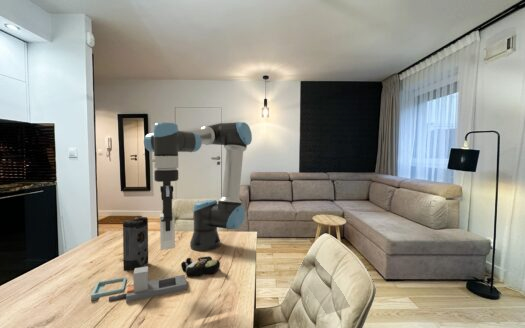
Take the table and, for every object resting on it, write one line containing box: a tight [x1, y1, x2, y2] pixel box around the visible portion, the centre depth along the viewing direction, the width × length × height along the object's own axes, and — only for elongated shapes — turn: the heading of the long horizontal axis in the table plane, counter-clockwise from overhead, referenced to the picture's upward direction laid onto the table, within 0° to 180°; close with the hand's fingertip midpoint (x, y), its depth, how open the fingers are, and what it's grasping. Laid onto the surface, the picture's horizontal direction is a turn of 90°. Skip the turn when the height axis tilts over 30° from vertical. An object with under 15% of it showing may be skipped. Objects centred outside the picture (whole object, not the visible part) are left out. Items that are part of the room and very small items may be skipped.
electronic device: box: [122, 216, 149, 272], centre depth 100 cm, size 9×6×20 cm, turn 168°
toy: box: [180, 255, 221, 278], centre depth 95 cm, size 12×8×15 cm
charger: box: [159, 212, 176, 251], centre depth 82 cm, size 4×4×11 cm
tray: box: [90, 276, 127, 302], centre depth 82 cm, size 9×9×2 cm
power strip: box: [108, 265, 188, 304], centre depth 80 cm, size 23×7×9 cm, turn 114°
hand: (167, 237), depth 82 cm, fingers closed on charger, 4 cm apart
